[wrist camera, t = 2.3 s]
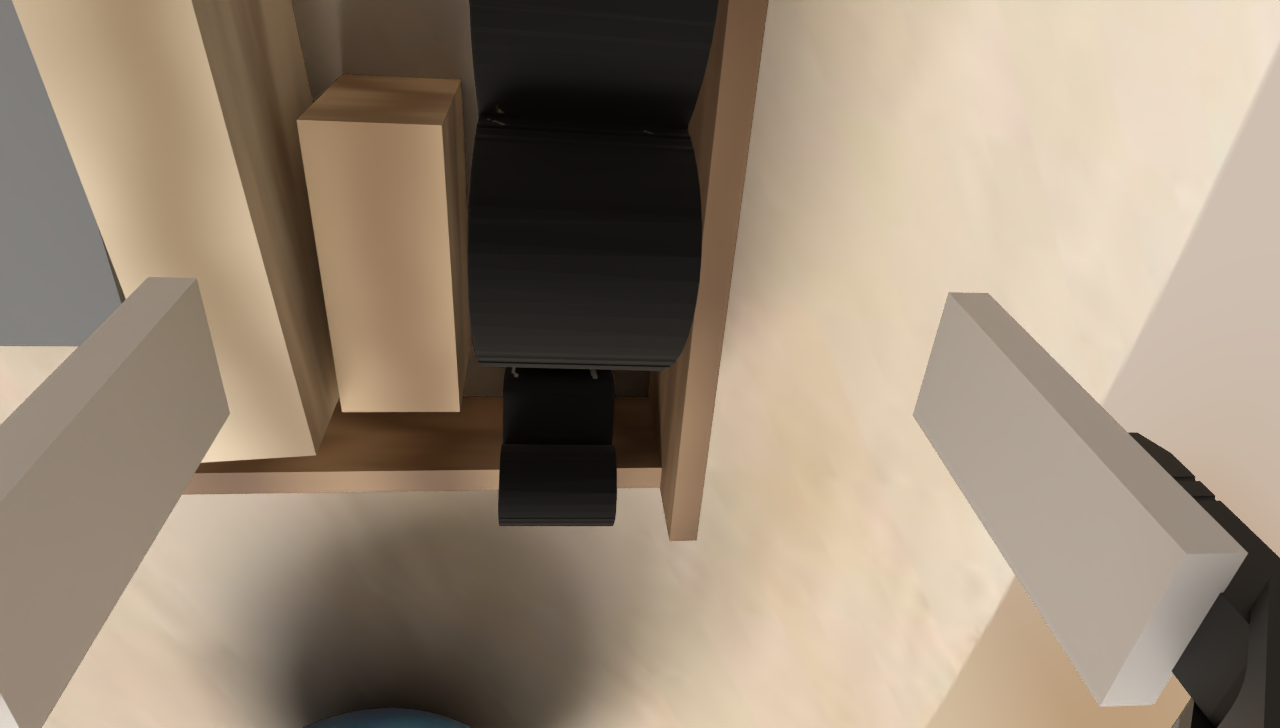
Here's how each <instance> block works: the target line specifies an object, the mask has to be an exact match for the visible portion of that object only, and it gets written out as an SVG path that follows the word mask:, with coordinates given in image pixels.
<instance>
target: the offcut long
mask: <svg viewBox="0 0 1280 728" xmlns="http://www.w3.org/2000/svg"><path fill="white" fill-rule="evenodd" d="M12 2H13V5H14V7H15V10H16V12H17V15H18V18H19V20H20V23H21V26H22V28H23V31H24V33H25V36H26V39H27V41H28V44H29V46H30V49H31V52H32V54H33V57H34V60H35V62H36V65H37V67H38V70H39V73H40V75H41V78H42V81H43V83H44V86H45V88H46V91H47V94H48V96H49V99H50V101H51V104H52V107H53V109H54V112H55V115H56V117H57V120H58V122H59V125H60V128H61V130H62V133H63V136H64V138H65V141H66V143H67V146H68V149H69V151H70V154H71V156H72V159H73V162H74V164H75V167H76V170H77V172H78V175H79V177H80V180H81V183H82V185H83V188H84V191H85V193H86V196H87V198H88V201H89V204H90V206H91V209H92V212H93V214H94V217H95V219H96V222H97V225H98V227H99V230H100V232H101V235H102V238H103V240H104V243H105V246H106V248H107V251H108V253H109V256H110V259H111V261H112V264H113V267H114V269H115V272H116V274H117V277H118V280H119V282H120V285H121V287H122V290H123V293H124V295H125V298H126V299H127V298H128V297H129V296H130V295H131V294H132V293H133V292H134V291H135V290H136V289H137V288H138V287H139V286H140V285H141V284H142V283H143V282H144V281H145V280H146V279H147V278H148V277H168V278H197V281H198V285H199V289H200V293H201V297H202V301H203V305H204V309H205V313H206V317H207V321H208V325H209V330H210V334H211V338H212V342H213V346H214V350H215V354H216V358H217V362H218V366H219V370H220V374H221V378H222V382H223V386H224V390H225V394H226V398H227V403H228V407H229V411H230V415H229V417H228V418H227V420H226V422H225V423H224V425H223V427H222V428H221V430H220V432H219V433H218V435H217V437H216V438H215V440H214V442H213V443H212V445H211V447H210V448H209V450H208V452H207V453H206V455H205V457H204V458H203V460H202V462H201V463H204V462H219V461H235V460H251V459H267V458H283V457H299V456H314V455H317V452H318V449H319V447H320V444H321V442H322V439H323V437H324V434H325V432H326V429H327V427H328V424H329V422H330V419H331V417H332V414H333V411H334V409H335V406H336V404H337V401H338V399H339V390H338V383H337V377H336V371H335V364H334V358H333V351H332V345H331V338H330V332H329V326H328V319H327V313H326V306H325V300H324V294H323V287H322V281H321V274H320V268H319V261H318V255H317V249H316V242H315V236H314V229H313V223H312V217H311V210H310V204H309V197H308V191H307V184H306V178H305V172H304V165H303V159H302V152H301V146H300V140H299V133H298V127H297V119H298V118H299V117H300V116H301V115H302V114H303V113H304V112H305V111H306V110H307V109H308V108H309V107H310V106H311V105H312V104H313V101H312V96H311V91H310V87H309V82H308V77H307V73H306V68H305V63H304V59H303V54H302V49H301V45H300V40H299V35H298V31H297V26H296V21H295V17H294V12H293V7H292V3H291V0H12Z"/></svg>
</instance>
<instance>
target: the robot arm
mask: <svg viewBox="0 0 1280 728" xmlns="http://www.w3.org/2000/svg"><path fill="white" fill-rule="evenodd" d="M229 415H230V411H229V407H228V403H227V398H226V394H225V390H224V386H223V382H222V378H221V374H220V370H219V366H218V362H217V358H216V354H215V350H214V346H213V342H212V338H211V334H210V330H209V325H208V321H207V317H206V313H205V309H204V305H203V301H202V297H201V293H200V289H199V285H198V281H197V278H168V277H148V278H147V279H146V280H145V281H144V282H143V283H142V284H141V285H140V286H139V287H138V288H137V289H136V290H135V291H134V292H133V293H132V294H131V295H130V296H129V297H128V298H127V299H126V300H125V301H124V302H123V303H122V304H121V305H120V306H119V307H118V308H117V309H116V310H115V311H114V312H113V313H112V314H111V315H110V316H109V317H108V318H107V319H106V320H105V321H104V322H103V323H102V324H101V325H100V326H99V327H98V328H97V329H96V330H95V331H94V332H93V333H92V334H91V335H90V336H89V337H88V338H87V339H86V340H85V341H84V342H83V343H82V344H81V345H80V346H79V347H78V348H77V349H76V350H75V351H74V352H73V353H72V354H71V355H70V356H69V357H68V358H67V359H66V360H65V361H64V362H63V363H62V364H61V365H60V366H59V367H58V368H57V369H56V370H55V371H54V372H53V373H52V374H51V375H50V376H49V377H48V378H47V379H46V380H45V381H44V382H43V383H42V384H41V385H40V386H39V387H38V388H37V389H36V390H35V391H34V392H33V393H32V394H31V395H30V396H29V397H28V398H27V399H26V400H25V401H24V402H23V403H22V404H21V405H20V406H19V407H18V408H17V409H16V410H15V411H14V412H13V413H12V414H11V415H10V416H9V417H8V418H7V419H6V420H5V421H4V422H3V423H2V424H1V425H0V728H42V726H43V725H44V723H45V721H46V720H47V718H48V716H49V715H50V713H51V711H52V710H53V708H54V706H55V705H56V703H57V701H58V700H59V698H60V696H61V695H62V693H63V691H64V690H65V688H66V686H67V685H68V683H69V681H70V680H71V678H72V676H73V675H74V673H75V671H76V670H77V668H78V666H79V665H80V663H81V661H82V660H83V658H84V656H85V655H86V653H87V651H88V650H89V648H90V646H91V645H92V643H93V641H94V640H95V638H96V636H97V635H98V633H99V631H100V630H101V628H102V626H103V625H104V623H105V621H106V620H107V618H108V616H109V615H110V613H111V611H112V610H113V608H114V606H115V605H116V603H117V601H118V600H119V598H120V596H121V595H122V593H123V591H124V590H125V588H126V586H127V585H128V583H129V581H130V580H131V578H132V576H133V575H134V573H135V571H136V570H137V568H138V566H139V565H140V563H141V561H142V560H143V558H144V556H145V555H146V553H147V551H148V550H149V548H150V546H151V545H152V543H153V541H154V540H155V538H156V536H157V535H158V533H159V531H160V530H161V528H162V526H163V525H164V523H165V521H166V520H167V518H168V517H169V515H170V513H171V512H172V510H173V508H174V507H175V505H176V503H177V502H178V500H179V498H180V497H181V495H182V493H183V492H184V490H185V488H186V487H187V485H188V483H189V482H190V480H191V478H192V477H193V475H194V473H195V472H196V470H197V468H198V467H199V465H200V463H201V462H202V460H203V458H204V457H205V455H206V453H207V452H208V450H209V448H210V447H211V445H212V443H213V442H214V440H215V438H216V437H217V435H218V433H219V432H220V430H221V428H222V427H223V425H224V423H225V422H226V420H227V418H228V417H229ZM913 416H914V418H915V420H916V421H917V423H918V424H919V426H920V427H921V429H922V430H923V432H924V434H925V435H926V437H927V438H928V440H929V441H930V443H931V445H932V446H933V448H934V449H935V451H936V452H937V454H938V455H939V457H940V459H941V460H942V462H943V463H944V465H945V466H946V468H947V469H948V471H949V473H950V474H951V476H952V477H953V479H954V480H955V482H956V483H957V485H958V487H959V488H960V490H961V491H962V493H963V494H964V496H965V498H966V499H967V501H968V502H969V504H970V505H971V507H972V508H973V510H974V512H975V513H976V515H977V516H978V518H979V519H980V521H981V522H982V524H983V526H984V527H985V529H986V530H987V532H988V533H989V535H990V536H991V538H992V540H993V541H994V543H995V544H996V546H997V547H998V549H999V550H1000V552H1001V554H1002V555H1003V557H1004V558H1005V560H1006V561H1007V563H1008V565H1009V566H1010V568H1011V569H1012V571H1013V572H1014V574H1015V575H1016V577H1017V578H1018V580H1019V582H1020V583H1021V585H1022V586H1023V587H1024V589H1025V591H1026V593H1027V594H1028V595H1029V597H1030V599H1031V600H1032V602H1033V603H1034V605H1035V607H1036V608H1037V610H1038V611H1039V613H1040V614H1041V616H1042V617H1043V619H1044V621H1045V622H1046V624H1047V625H1048V627H1049V628H1050V630H1051V632H1052V633H1053V635H1054V636H1055V638H1056V639H1057V641H1058V642H1059V644H1060V646H1061V647H1062V649H1063V650H1064V652H1065V653H1066V655H1067V656H1068V658H1069V659H1070V661H1071V662H1072V664H1073V666H1074V667H1075V669H1076V670H1077V672H1078V674H1079V675H1080V677H1081V678H1082V680H1083V681H1084V683H1085V685H1086V686H1087V688H1088V689H1089V691H1090V692H1091V694H1092V695H1093V697H1094V698H1095V700H1096V701H1097V703H1098V704H1099V706H1100V707H1103V706H1131V705H1153V704H1154V703H1155V702H1156V700H1157V698H1158V697H1159V695H1160V694H1161V692H1162V690H1163V689H1164V687H1165V686H1166V684H1167V682H1168V681H1169V679H1170V678H1171V676H1172V674H1174V675H1175V676H1176V678H1177V679H1178V680H1179V682H1180V683H1181V684H1182V686H1183V687H1184V688H1185V690H1186V691H1187V692H1188V693H1189V695H1190V696H1191V699H1190V700H1189V702H1188V703H1187V705H1186V706H1185V708H1184V710H1183V711H1182V712H1181V714H1180V715H1179V717H1178V719H1177V720H1176V722H1175V723H1174V725H1173V726H1172V728H1280V558H1279V557H1278V556H1277V555H1276V554H1275V553H1274V552H1273V551H1272V550H1271V549H1270V548H1269V547H1268V546H1267V545H1266V544H1265V543H1264V542H1263V541H1262V540H1261V539H1260V538H1259V537H1257V536H1256V535H1255V534H1254V533H1253V532H1252V531H1251V530H1250V529H1249V528H1248V527H1247V526H1246V525H1245V524H1244V523H1243V522H1242V521H1241V520H1240V519H1239V518H1238V517H1237V516H1235V514H1234V513H1233V512H1231V511H1230V510H1229V509H1228V508H1227V507H1226V506H1225V505H1224V504H1223V503H1222V502H1221V501H1216V500H1215V495H1214V494H1213V493H1212V492H1210V490H1208V488H1207V487H1206V486H1204V485H1203V484H1202V483H1201V482H1200V481H1195V476H1194V475H1193V474H1192V473H1191V472H1190V471H1189V470H1188V469H1187V468H1186V467H1185V466H1184V465H1183V464H1182V463H1181V462H1180V461H1179V460H1177V459H1176V458H1175V457H1174V456H1173V455H1172V454H1171V453H1170V452H1168V451H1167V450H1165V449H1163V448H1162V447H1160V446H1158V445H1157V444H1155V443H1153V442H1152V441H1150V440H1149V439H1147V438H1145V437H1144V436H1142V435H1140V434H1139V433H1128V432H1126V431H1125V429H1123V427H1122V426H1120V425H1119V423H1117V421H1115V420H1114V418H1113V417H1112V416H1111V415H1109V413H1108V412H1106V410H1105V409H1104V408H1103V407H1102V406H1101V405H1100V404H1099V403H1098V402H1097V401H1096V400H1095V399H1094V398H1093V397H1092V396H1091V395H1090V394H1089V393H1088V392H1087V391H1085V390H1084V389H1083V388H1082V387H1081V386H1080V385H1079V384H1078V383H1077V382H1076V381H1075V380H1074V379H1073V378H1072V377H1071V376H1070V375H1069V374H1068V373H1067V372H1066V371H1065V370H1064V369H1063V368H1062V367H1061V366H1060V365H1059V364H1058V363H1057V362H1056V361H1055V360H1054V359H1053V358H1052V357H1051V356H1050V355H1049V354H1048V353H1047V352H1046V351H1045V350H1044V349H1043V348H1042V347H1041V346H1040V345H1039V344H1038V343H1037V342H1036V341H1035V340H1034V339H1033V338H1032V337H1031V336H1030V335H1029V334H1028V333H1027V332H1026V331H1025V330H1024V329H1023V328H1022V327H1021V326H1020V325H1019V324H1018V323H1017V322H1016V321H1015V320H1014V319H1013V318H1012V317H1011V316H1010V315H1009V314H1008V313H1007V312H1006V311H1005V310H1004V309H1003V308H1002V307H1001V306H1000V305H999V304H998V303H997V302H996V301H995V300H994V299H993V298H992V297H991V296H990V295H989V294H988V293H950V292H949V293H948V296H947V300H946V303H945V306H944V310H943V313H942V317H941V320H940V324H939V327H938V330H937V334H936V337H935V341H934V344H933V348H932V351H931V354H930V358H929V361H928V365H927V368H926V372H925V375H924V378H923V382H922V385H921V389H920V392H919V396H918V399H917V403H916V406H915V409H914V413H913Z"/></svg>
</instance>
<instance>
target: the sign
mask: <svg viewBox="0 0 1280 728" xmlns="http://www.w3.org/2000/svg"><path fill="white" fill-rule="evenodd" d="M718 2H719V0H469V4H470V26H471V40H472V55H473V67H474V77H475V87H476V96H477V104H478V111H479V119H478V124H477V129H476V136H475V143H474V151H473V159H472V168H471V180H470V194H469V211H468V246H467V274H468V301H469V315H470V326H471V334H472V340H473V346H474V350H475V353H476V357H477V358H478V362H479V363H480V364H481V365H482V366H484V367H506V369H505V375H504V386H503V444H502V445H501V452H500V469H499V501H498V516H499V526H613V525H614V521H615V515H616V500H617V463H616V450H615V446H614V445H612V439H613V418H614V397H615V390H614V378H613V375H612V372H611V370H642V371H662V370H664V369H667V368H670V366H671V365H672V364H673V363H675V361H676V359H677V358H678V357H679V356H680V354H681V352H682V350H683V348H684V346H685V343H686V341H687V339H688V336H689V332H690V329H691V325H692V322H693V318H694V313H695V308H696V303H697V296H698V290H699V283H700V271H701V259H702V213H701V195H700V184H699V177H698V170H697V164H696V159H695V154H694V148H693V147H692V141H691V137H690V135H689V132H688V125H689V122H690V119H691V117H692V114H693V111H694V109H695V105H696V102H697V99H698V95H699V92H700V89H701V86H702V82H703V79H704V75H705V71H706V66H707V62H708V58H709V53H710V49H711V45H712V39H713V33H714V27H715V23H716V16H717V9H718Z"/></svg>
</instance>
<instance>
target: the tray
mask: <svg viewBox="0 0 1280 728" xmlns="http://www.w3.org/2000/svg"><path fill="white" fill-rule="evenodd" d="M767 7H768V0H719V2H718V9H717V16H716V23H715V27H714V33H713V39H712V45H711V49H710V53H709V58H708V62H707V66H706V71H705V75H704V79H703V82H702V86H701V89H700V92H699V95H698V99H697V102H696V105H695V109H694V111H693V114H692V117H691V119H690V122H689V125H688V132H689V135H690V137H691V141H692V147H693V148H694V154H695V159H696V164H697V170H698V177H699V184H700V195H701V213H702V259H701V271H700V283H699V290H698V296H697V303H696V308H695V313H694V318H693V322H692V325H691V329H690V332H689V336H688V339H687V341H686V343H685V346H684V348H683V350H682V352H681V354H680V356H679V357H678V358H677V359H676V361H675V363H673V364H672V365H671V366H670V368H667V369H664V370H662V371H651V372H650V384H649V396H648V397H614V418H613V439H612V445H614V446H615V450H616V463H617V488H660V491H661V496H662V502H663V507H664V513H665V518H666V524H667V530H668V535H669V541H688V540H697V532H698V525H699V517H700V510H701V502H702V495H703V487H704V480H705V472H706V465H707V457H708V450H709V442H710V435H711V427H712V420H713V412H714V405H715V397H716V390H717V382H718V375H719V367H720V360H721V352H722V344H723V337H724V329H725V322H726V314H727V307H728V299H729V292H730V284H731V277H732V269H733V262H734V254H735V247H736V239H737V232H738V224H739V217H740V209H741V202H742V194H743V187H744V179H745V172H746V164H747V157H748V149H749V142H750V134H751V127H752V119H753V112H754V104H755V97H756V89H757V82H758V74H759V67H760V59H761V52H762V44H763V37H764V29H765V22H766V14H767ZM124 296H125V295H124ZM125 300H126V298H125ZM502 444H503V397H462V402H461V408H460V412H342V409H341V403H340V397H339V399H338V401H337V404H336V406H335V409H334V411H333V414H332V417H331V419H330V422H329V424H328V427H327V429H326V432H325V434H324V437H323V439H322V442H321V444H320V447H319V449H318V452H317V455H314V456H299V457H283V458H267V459H251V460H235V461H219V462H204V463H200V465H199V467H198V468H197V470H196V472H195V473H194V475H193V477H192V478H191V480H190V482H189V483H188V485H187V487H186V488H185V490H184V492H183V493H182V495H184V494H253V493H321V492H389V491H458V490H499V469H500V452H501V445H502Z"/></svg>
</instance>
